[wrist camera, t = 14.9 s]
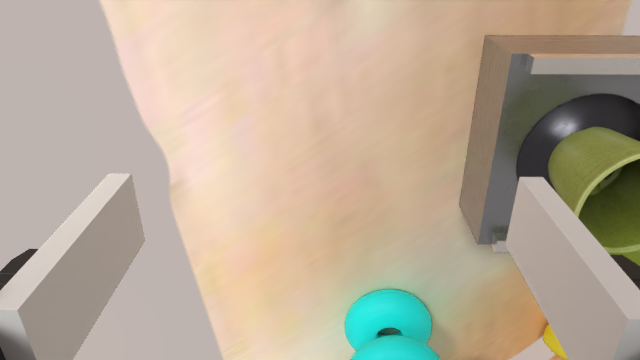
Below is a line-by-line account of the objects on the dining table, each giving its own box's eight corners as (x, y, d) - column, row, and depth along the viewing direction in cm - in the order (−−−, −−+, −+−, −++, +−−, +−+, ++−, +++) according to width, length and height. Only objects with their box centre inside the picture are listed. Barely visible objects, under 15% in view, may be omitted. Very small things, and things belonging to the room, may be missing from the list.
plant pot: (503, 188, 40) (543, 249, 32) (569, 87, 36) (634, 129, 28) (597, 224, 42) (657, 290, 34) (671, 130, 37) (759, 181, 30)
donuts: (412, 432, 51) (329, 401, 49) (400, 358, 60) (329, 329, 58) (467, 375, 47) (378, 338, 45) (446, 304, 55) (371, 271, 54)
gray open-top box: (485, 35, 41) (517, 57, 34) (660, 35, 41) (731, 57, 34) (455, 229, 51) (476, 279, 43) (599, 230, 50) (644, 281, 43)
